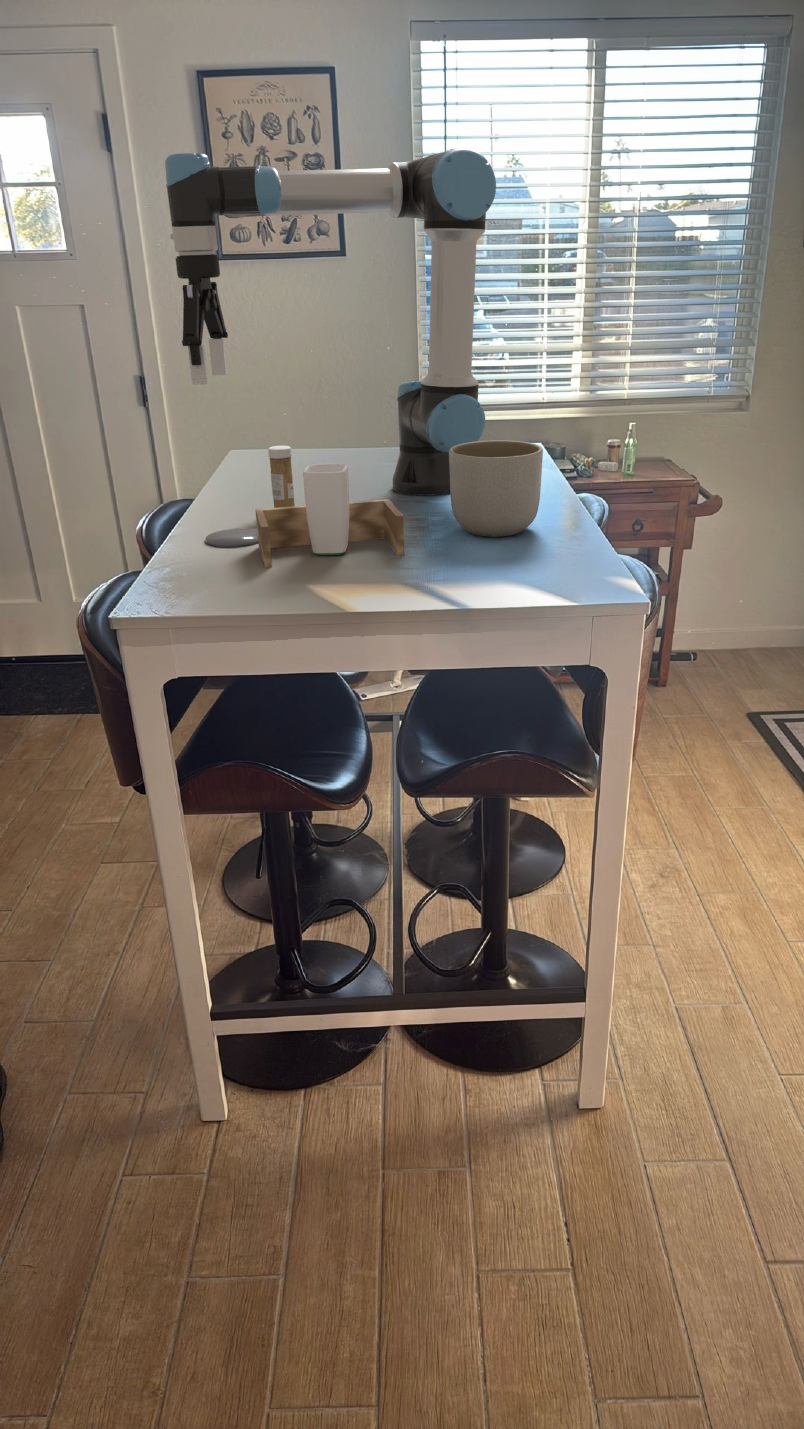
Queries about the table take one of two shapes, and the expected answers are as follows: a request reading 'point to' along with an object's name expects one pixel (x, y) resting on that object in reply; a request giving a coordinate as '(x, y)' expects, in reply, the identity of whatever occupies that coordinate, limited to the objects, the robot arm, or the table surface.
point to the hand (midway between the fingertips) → (210, 379)
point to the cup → (327, 507)
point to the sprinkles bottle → (281, 476)
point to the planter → (495, 486)
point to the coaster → (233, 538)
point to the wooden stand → (363, 525)
